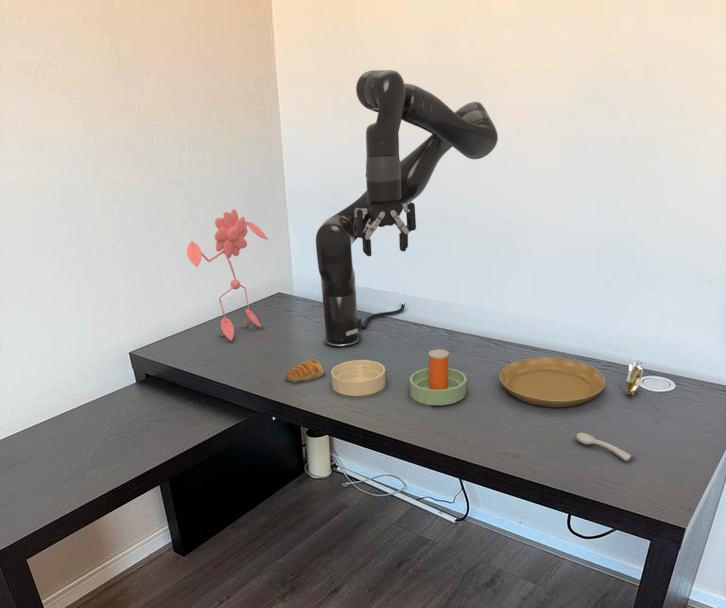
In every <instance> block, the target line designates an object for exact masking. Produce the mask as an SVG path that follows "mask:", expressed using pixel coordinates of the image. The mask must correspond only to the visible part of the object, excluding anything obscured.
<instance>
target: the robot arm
mask: <svg viewBox="0 0 726 608" xmlns="http://www.w3.org/2000/svg"><path fill="white" fill-rule="evenodd" d="M355 94H356V97H357V99H358V102H359V103H360V104H361V105H362V106H363V107H364V108H365V109H367V110H370V111H372V112H375V113H377V115H376V116H377V117H376V121H375V122H373V123H370V124H368V126H367V127H366V129H365V148H366V149H365V152H366V159H365V179H366V190H365V191H364V192H363V193H362V195H360V197H359V198H357V199H356V200H354V201H353V202H352V203H351V204H349V205H348V206H347V207H345V208H343V209H342V210H340V211H339V212H337V213H335V214H333V215H332V216H329V218H327V219H326V220H325V221H323V223H322V224H321V225H320V226H319V228H318V230H317V231H316V235H315V249H316V260H317V267H318V273H319V275H320V282H321V294H322V295H321V296H322V306H323V319H324V330H325V331H324V332H325V344H326V345H328V346H329V347H333V348H334V347H335V348H345V347H346V348H347V347H352V346H354V345H356V344H358V343H359V342H360V337H359V331H360V330H361V329H362V330H365V329H366V328H367V327H368V324H369V322H370V321H371V319H375V318H378V317H384V316H393V315H397V314H399V313H401V312H403V311H404V309H405V304H404V305H403V304H402V305H401V304H400V306H401V307H400V308H399V309H396V310H391V311H385V312H378V313H374V314H371V315H369V316H367V317H366V319H365V321H364V324H363V323H362V318H361V317H358V304H357V287H356V271H355V269H354V266H353V265H354V264H353V253H352V252H353V251H352V245H353V244H354V242H356V241H357V239H361V240H362V252H363V253H364V254H365V256H367V257H372V239H371V237H372V235H373V234H374V232H376V230H377V229H378V227H379V228H383V227H386V226H389V227H392V226H394V225H395V226H396V228H397V229H398V230H399V234H398V236H399V239H398V241H399V250H400V252H406V251H407V249H408V247H409V234H410V232H412V231H416V229H417V222H416V221H417V220H416V205H415V203H414V202H412V201H414V200H415V199H416V198H418V197H419V196H420V195H421V194H422V193H424V190H425V189H426V187H427V186H428V184H429V182H430V180H431V178H432V176H433V173H434V171H435V169H436V167H437V166H438V164H439V162H440V161H441V159H442V157H443V156H444V155H446V153H447V152H448V151H450V150H451V148H454V149H455V150H456V151H457V152H459V153H460V154H462V155H463V156H464V157H466V158H467V159H469V160H480V159H483V158H485V157H487V156H488V155H489V154H491V153H492V151H494V149H495V148H496V146H497V144H498V142H499V141H498V139H499V135H498V131H497V127H496V126H495V123H494V122H493V120H492V118H491V117H490V115H489V113H488V111H487V110H486V107H485V106H484V105H483V103H482V102H479V101H471V102H468V103H466V104H464V105H462V106H461V107H459V108H458V109H457V110H456V111H454V110H452V108H450V107H449V106H448V105H447V104H446V103H445V102H444V101H443V100H442V99H440V98H439V97H438V96H436V95H434V94H433V93H431V91H428V90H426V89H423V88H422V87H420V86H417V85H415V84H412V83H405V81H404V78H403V77H402V75H401V74H400V73H399V72H398V71H397V70H393V69H377V70H376V69H375V70H374V69H373V70H367V71H364V73H362V74H361V75H360V77H358V80H357V82H356V86H355ZM402 122H405V123H408V124H410V125H412V126H415V127H418V128H419V129H421V130H423V131H426V132H428V133H430V136H428V138H426V139H425V140H424V141H423V142H422V143H421V144H419V145H418V146H416V148H415V149H414V150H412V151H411V152H410V153H409V154H408V155H406V156H404V158H402V159H400V140H399V139H400V135H399V133H400V128H401V123H402ZM402 212H404V213H405V217H406V224H405V222H404V221H403V220H402V219H401V217H400V215H402Z"/></svg>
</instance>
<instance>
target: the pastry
mask: <svg viewBox="0 0 726 608" xmlns="http://www.w3.org/2000/svg"><path fill="white" fill-rule="evenodd" d="M324 374H325V370H324V368H323V366H322V365H321V363H320V361H319V360H317V359H315V358H314V359H313V358H311V359H310V360H307V361H304V362H299V363H297V365H295V366H294V367H293V368H291V369H290V370H289V371H287V373H286V380H287V381H289V382H293V383H298V382H304V381H305V382H306V381H310V380H312V379H316V378H319V377H321V376H323V375H324Z"/></svg>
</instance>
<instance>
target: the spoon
mask: <svg viewBox="0 0 726 608" xmlns="http://www.w3.org/2000/svg"><path fill="white" fill-rule="evenodd" d="M575 438H576V440H577V442H579V444H582V445H585V446H589V445H597V446H601V447H603V448H605V449H606V450H608V451H610V452H612V453H614V454H615V455H616V456H617V457H619V458H620V459H622V461H625V462H628V461H630V460H631V458H632V455H631V454H630V453H628V452H626V451H624V450H623V449H620V448H619V447H616V446H615V445H612V444H611V443H608V442H606V441H603V440H600V439H596V438H595V437H594V436H593V435H592V434H591V435H590V434H589V433H585V432H578V433H577V434H576V436H575Z"/></svg>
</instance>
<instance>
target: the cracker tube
mask: <svg viewBox="0 0 726 608" xmlns="http://www.w3.org/2000/svg"><path fill="white" fill-rule="evenodd" d="M449 356H450V352H449V351H448V350H446V349H432V350H430V351H429V352H428V368H429V389H432V390H444V389H448V368H449Z"/></svg>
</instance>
